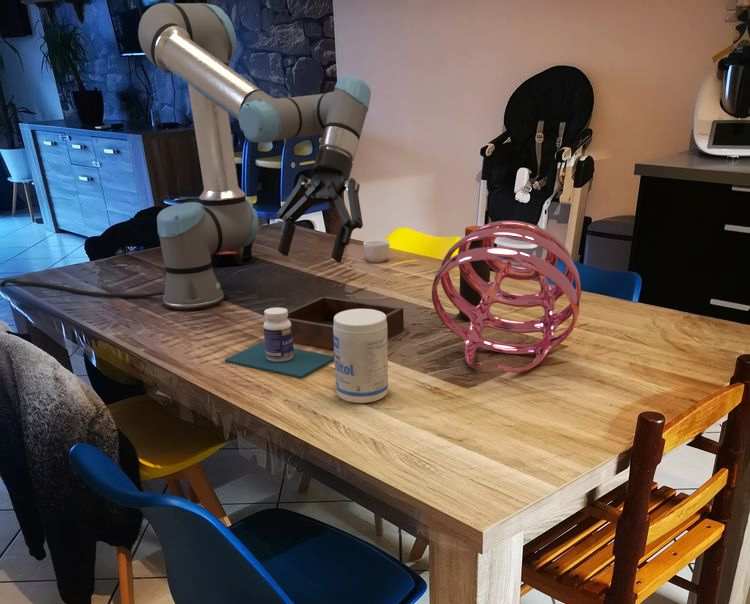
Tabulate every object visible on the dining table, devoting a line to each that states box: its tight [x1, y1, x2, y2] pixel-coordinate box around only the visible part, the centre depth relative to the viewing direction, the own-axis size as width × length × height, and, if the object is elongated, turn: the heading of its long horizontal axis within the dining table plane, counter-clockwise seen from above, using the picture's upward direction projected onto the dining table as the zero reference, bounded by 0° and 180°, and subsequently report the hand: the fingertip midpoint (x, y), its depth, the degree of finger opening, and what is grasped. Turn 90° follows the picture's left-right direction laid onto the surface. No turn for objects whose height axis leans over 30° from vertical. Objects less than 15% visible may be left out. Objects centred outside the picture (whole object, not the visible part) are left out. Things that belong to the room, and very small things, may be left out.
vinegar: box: [458, 225, 491, 322], centre depth 169 cm, size 7×7×20 cm
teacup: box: [362, 239, 390, 264], centre depth 223 cm, size 10×8×5 cm
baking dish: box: [211, 237, 256, 268], centre depth 228 cm, size 14×18×10 cm
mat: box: [224, 341, 335, 379], centre depth 154 cm, size 20×12×1 cm, turn 57°
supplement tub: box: [332, 309, 389, 404], centre depth 134 cm, size 10×10×15 cm
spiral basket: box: [431, 220, 583, 374], centre depth 142 cm, size 28×28×27 cm
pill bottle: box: [262, 307, 294, 362], centre depth 152 cm, size 6×6×10 cm
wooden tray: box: [287, 295, 405, 351], centre depth 166 cm, size 22×18×5 cm
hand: (308, 256), depth 155 cm, fingers open, 13 cm apart
